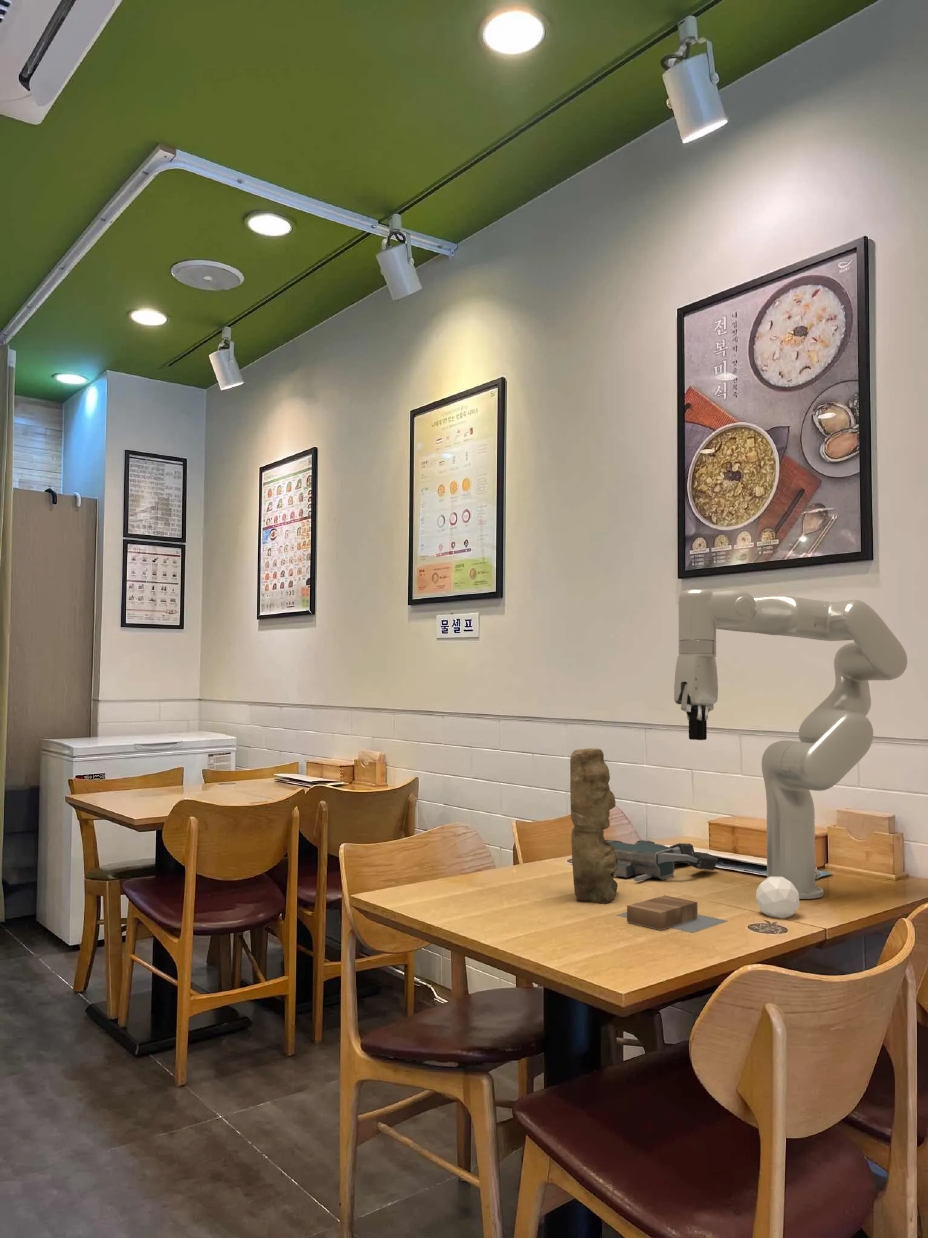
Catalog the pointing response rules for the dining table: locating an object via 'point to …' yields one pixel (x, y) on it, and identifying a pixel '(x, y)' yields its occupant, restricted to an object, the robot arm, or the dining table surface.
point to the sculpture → (591, 827)
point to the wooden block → (662, 912)
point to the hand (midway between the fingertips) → (697, 739)
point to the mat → (694, 923)
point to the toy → (657, 859)
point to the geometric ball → (777, 897)
